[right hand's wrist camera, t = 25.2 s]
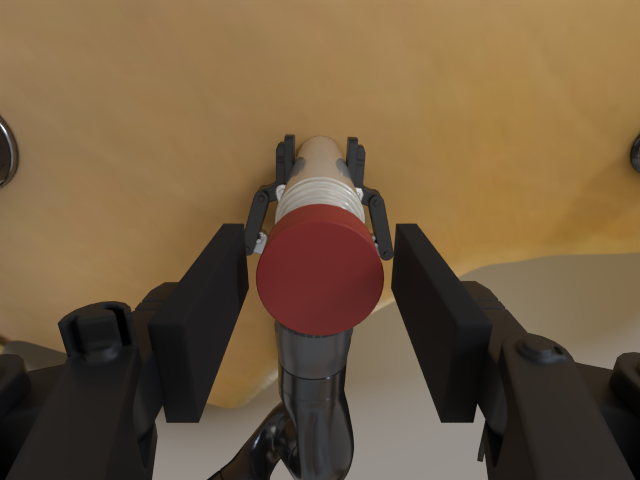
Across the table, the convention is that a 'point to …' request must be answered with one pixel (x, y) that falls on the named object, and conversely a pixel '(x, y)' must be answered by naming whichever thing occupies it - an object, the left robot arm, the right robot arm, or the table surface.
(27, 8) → the table surface
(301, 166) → the bottle
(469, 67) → the table surface
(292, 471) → the left robot arm
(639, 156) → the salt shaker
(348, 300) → the cap
